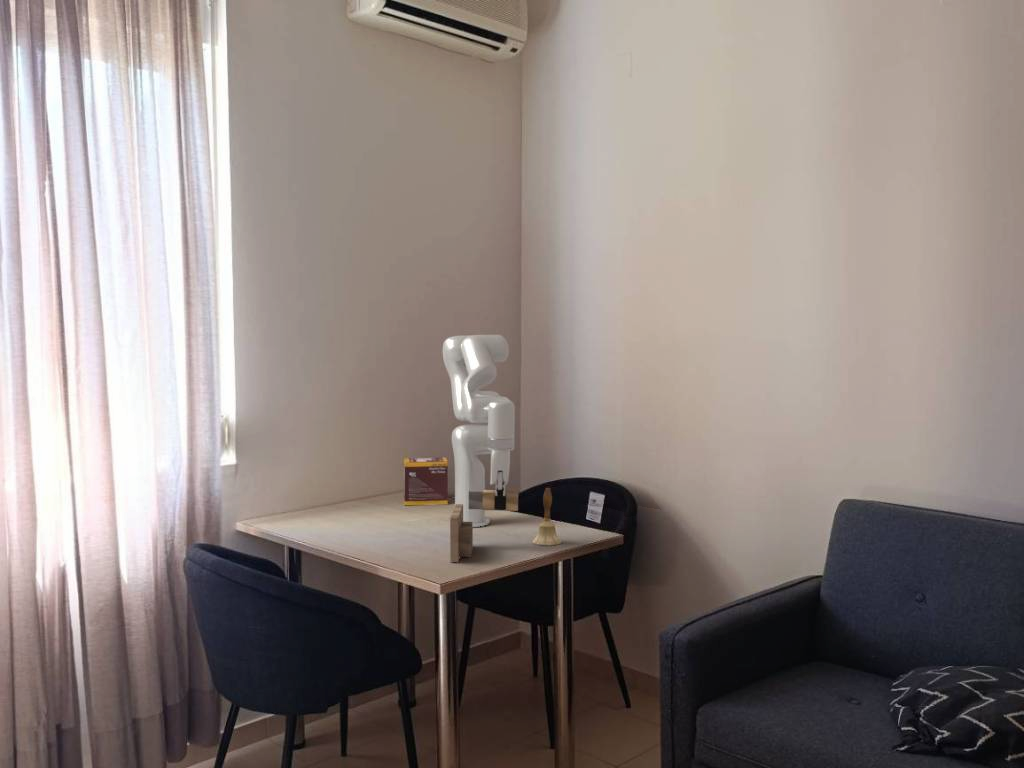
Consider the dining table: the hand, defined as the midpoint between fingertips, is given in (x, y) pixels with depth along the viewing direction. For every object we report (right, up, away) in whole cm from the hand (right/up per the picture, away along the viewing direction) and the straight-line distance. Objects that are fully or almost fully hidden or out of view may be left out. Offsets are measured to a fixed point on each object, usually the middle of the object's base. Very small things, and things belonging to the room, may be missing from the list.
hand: (500, 507), depth 267 cm
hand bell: (+13, -11, +5) cm, 18 cm away
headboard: (-9, -12, -8) cm, 17 cm away
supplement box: (-27, -8, +69) cm, 74 cm away
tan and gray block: (-2, -1, 0) cm, 2 cm away
